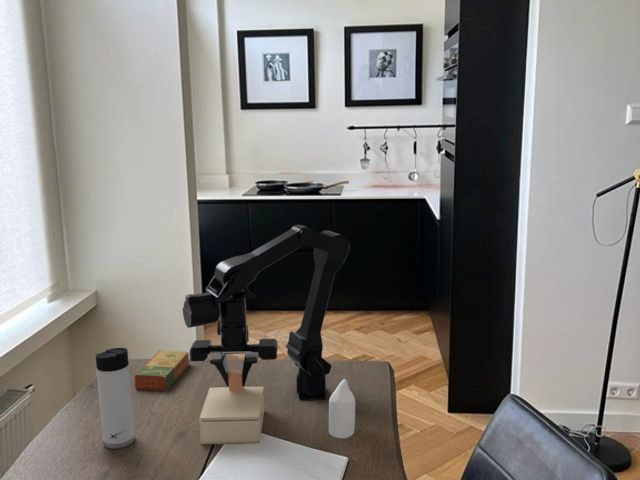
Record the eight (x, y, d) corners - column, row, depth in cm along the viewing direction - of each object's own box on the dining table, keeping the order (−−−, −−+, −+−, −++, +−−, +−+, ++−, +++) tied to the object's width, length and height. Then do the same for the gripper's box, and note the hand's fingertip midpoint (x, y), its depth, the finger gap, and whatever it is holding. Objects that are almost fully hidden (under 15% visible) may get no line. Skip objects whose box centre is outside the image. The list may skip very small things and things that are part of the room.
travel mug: (118, 452, 125) (110, 358, 121) (96, 443, 129) (88, 352, 125) (142, 438, 131) (135, 348, 126) (120, 430, 134) (113, 342, 130)
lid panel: (263, 389, 141) (262, 369, 140) (259, 419, 127) (258, 398, 126) (209, 390, 141) (208, 370, 140) (199, 420, 127) (198, 399, 126)
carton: (190, 365, 168) (189, 350, 167) (166, 392, 153) (165, 376, 152) (160, 364, 170) (159, 349, 169) (134, 390, 154) (133, 374, 153)
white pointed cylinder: (326, 373, 133) (352, 371, 133) (327, 425, 135) (353, 423, 136) (330, 385, 127) (357, 383, 128) (330, 439, 129) (357, 438, 130)
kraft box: (264, 410, 142) (263, 390, 141) (259, 443, 128) (259, 420, 127) (210, 411, 142) (209, 391, 141) (200, 444, 128) (199, 422, 127)
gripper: (277, 306, 144) (279, 370, 148) (196, 308, 144) (199, 371, 147) (275, 323, 134) (277, 391, 137) (187, 324, 133) (191, 393, 136)
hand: (236, 386), depth 140 cm, fingers closed on lid panel, 3 cm apart
